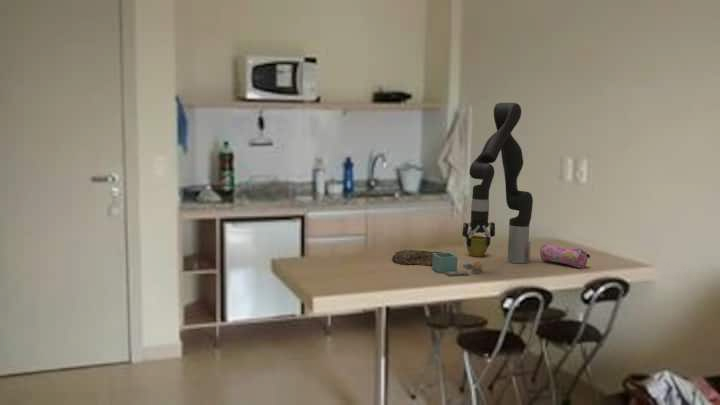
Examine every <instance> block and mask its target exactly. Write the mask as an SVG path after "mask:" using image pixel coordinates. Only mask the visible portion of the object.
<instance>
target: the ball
mask: <svg viewBox="0 0 720 405" xmlns="http://www.w3.org/2000/svg"><path fill="white" fill-rule="evenodd" d="M472 265H473V268H474V269H475V270H483V264H482V262H480V261H475V262H474V263H473V264H472Z"/></svg>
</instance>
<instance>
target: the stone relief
mask: <svg viewBox="0 0 720 405" xmlns="http://www.w3.org/2000/svg"><path fill="white" fill-rule="evenodd" d="M433 253H443V252H441V251H428V250H416V249H402V250H400V251H395V254H394V255H393V256H392V259H391V260H392V262H393V264H397V265H399V264H400V266H401V265H402V266H409V265H413V266H414V265H418V267H419V265H420V267H421V266H422V267H423V266H424V267H430V268H431V267H432V260H433Z"/></svg>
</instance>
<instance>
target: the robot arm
mask: <svg viewBox="0 0 720 405" xmlns="http://www.w3.org/2000/svg"><path fill="white" fill-rule="evenodd" d="M521 118H522V108H521V106H520V104H519V103H517V102H497V103H496V104H495V106H494V109H493V119H494V124H495V128H496V132H494V133H493V134H492V135H491V136H490V137H489V138H488V139H487V140H486V142H485V144H484V146H483V148H482V150H481V153H480V154H479V155H477V157H476V158H475V159H474V161H473V162H472V163H471V164H470V167H469V177H471V179H474V180H482V181H481V183H480V184H475V185H474V186H473V187H472V194H471V196H472V198H471V206H470V207H471V209H470V222H463V225H462V234H461V235H462V236H463V237H465V238H467V241H466V242H465V243H466V247H467V246H468V247H471V237H472V235H475V234H479V233H484V235H485V237H486V242H485V245H486V246H488V247H489V246H490V245H491V238H492V237H495V236H496V224H495V222H492V221H490V222H489V215H490V214H489V213H490V211H489V210H490V199H489V198H490V189H491V185H492V182H493V180H494V175H495V167H494V166H493V164H492V163H496V161H497V159H498V156H499V155H501V161H502V166H503V168H502V169H503V174H504V180H505V199H506V201H505V202H506V206H507V207H508V209H509V210H512V211H513V210H514V211H517V212H518V214H517V216H515V217H511V218H509V223H508V242H507V245H508V246H507V262H508V263H512V264H528V263H530V258H531V256H530V255H531V242H530V223H531V220H532V215H533V205H534V204H533V203H534V202H533V201H534V199H533V195H532V193H531V192H530V191H525V190H519V189H518V178H519V175H520V173H521V171H522V169H523V166H524V156H523V150H522V148H521V146H520V145H519V143H518V142H517V140H516V139H515V137H513V135H512V133H513V130H514V129H515V128H516V126H517V125H518V123H519V121H520V119H521ZM500 152H501V153H500ZM488 227H489V231H488V229H487V228H488ZM469 228H470V229H469Z"/></svg>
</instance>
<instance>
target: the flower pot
mask: <svg viewBox="0 0 720 405" xmlns="http://www.w3.org/2000/svg"><path fill="white" fill-rule="evenodd" d="M465 238H466V237H465ZM465 240H466V241H467V238H466V239H465ZM485 242H486V236H481V235H475V234H474V235H472V237H471V247H468V246H467V245H466V250H467V252H468V254H469V255H470V256H471V257H479V258H482V257H483V256H485V254H486V253H487V251H488V249H489V248H488V247H489V246H486V245H485Z"/></svg>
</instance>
